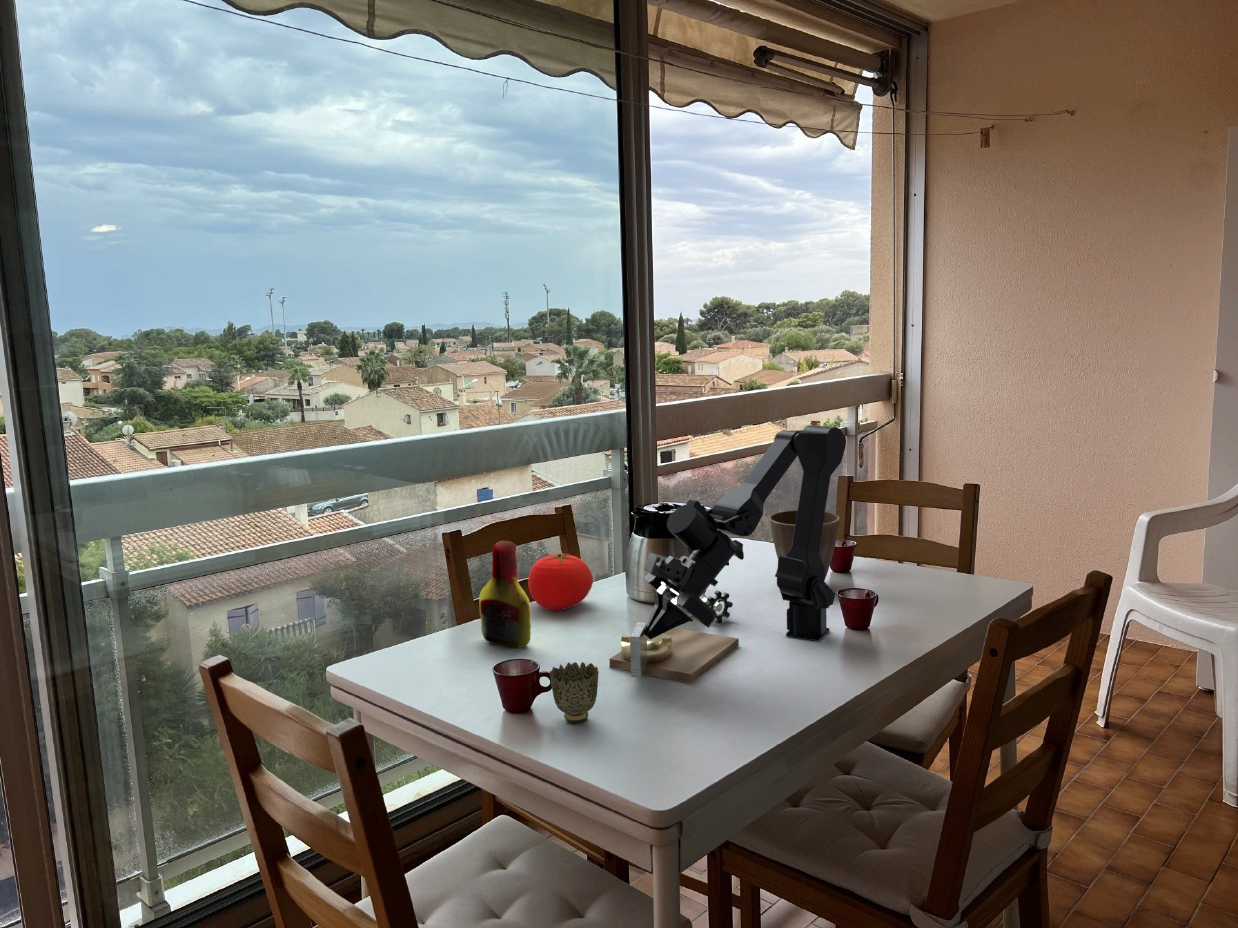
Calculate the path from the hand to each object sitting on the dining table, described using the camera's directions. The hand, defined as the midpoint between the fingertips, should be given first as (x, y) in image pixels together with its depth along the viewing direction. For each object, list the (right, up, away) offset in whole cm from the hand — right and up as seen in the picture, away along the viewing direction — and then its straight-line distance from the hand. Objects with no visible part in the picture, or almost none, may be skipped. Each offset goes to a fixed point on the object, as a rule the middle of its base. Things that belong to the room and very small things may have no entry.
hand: (647, 636), depth 152 cm
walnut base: (+5, -5, +10) cm, 13 cm away
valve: (+12, -2, +32) cm, 34 cm away
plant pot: (+36, +1, +48) cm, 60 cm away
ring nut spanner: (0, -5, +4) cm, 6 cm away
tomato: (-17, -2, +42) cm, 45 cm away
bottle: (-26, -5, +20) cm, 33 cm away
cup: (-11, -10, -14) cm, 21 cm away
